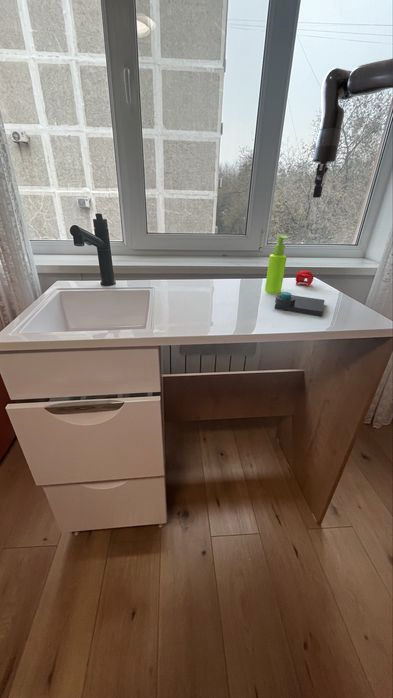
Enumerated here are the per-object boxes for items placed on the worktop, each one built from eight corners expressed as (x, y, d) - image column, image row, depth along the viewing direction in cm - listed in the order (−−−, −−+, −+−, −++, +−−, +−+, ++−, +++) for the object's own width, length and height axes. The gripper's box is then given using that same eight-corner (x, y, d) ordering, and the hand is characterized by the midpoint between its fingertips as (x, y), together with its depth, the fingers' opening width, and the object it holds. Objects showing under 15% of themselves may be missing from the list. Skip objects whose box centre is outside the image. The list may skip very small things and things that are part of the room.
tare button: (291, 298, 91) (292, 292, 91) (289, 300, 89) (290, 295, 88) (281, 296, 92) (282, 291, 92) (279, 299, 90) (280, 294, 89)
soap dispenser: (268, 294, 104) (276, 236, 94) (262, 289, 110) (270, 233, 100) (283, 294, 104) (294, 236, 94) (277, 289, 110) (286, 233, 100)
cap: (292, 282, 119) (294, 267, 116) (306, 282, 119) (309, 267, 116) (298, 287, 112) (301, 272, 109) (313, 288, 112) (317, 272, 109)
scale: (323, 304, 96) (326, 294, 94) (321, 317, 86) (323, 306, 84) (279, 298, 101) (281, 288, 99) (272, 309, 91) (274, 298, 89)
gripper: (338, 142, 94) (326, 198, 102) (338, 148, 106) (328, 197, 113) (314, 143, 97) (304, 197, 105) (317, 148, 108) (308, 197, 116)
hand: (316, 197), depth 109 cm, fingers open, 8 cm apart
